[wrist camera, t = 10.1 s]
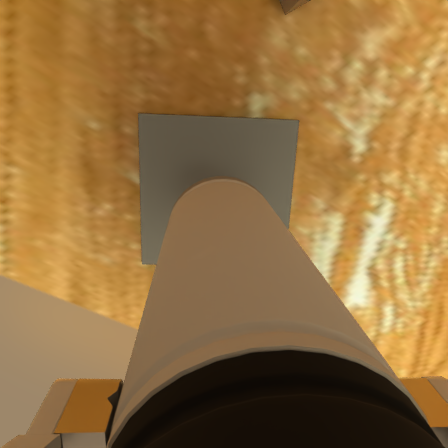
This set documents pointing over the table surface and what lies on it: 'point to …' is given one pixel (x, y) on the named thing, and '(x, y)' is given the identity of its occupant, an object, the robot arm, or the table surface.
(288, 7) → the dice cube
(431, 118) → the table surface
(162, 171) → the mat
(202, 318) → the travel mug
